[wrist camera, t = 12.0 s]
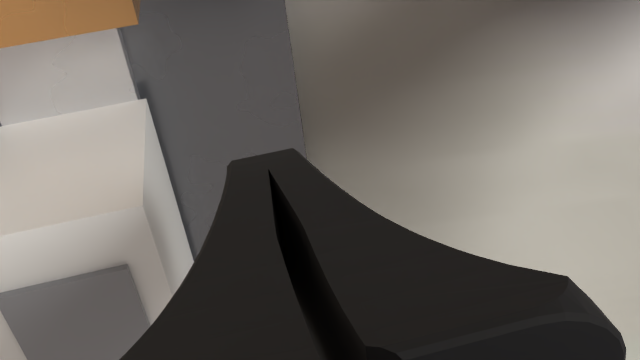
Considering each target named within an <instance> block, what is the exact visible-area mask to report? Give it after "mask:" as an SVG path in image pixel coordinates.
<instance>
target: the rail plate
mask: <svg viewBox="0 0 640 360" xmlns="http://www.w3.org/2000/svg"><path fill="white" fill-rule="evenodd" d="M145 98H146V99H147V103H148V106H149V109H150V113H151V116H152V120H153V123H154V127H155V130H156V133H157V137H158V140H159V144H160V147H161V151H162V154H163V157H164V161H165V164H166V168H167V171H168V175H169V178H170V182H171V185H172V188H173V192H174V195H175V199H176V202H177V206H178V209H179V212H180V216H181V219H182V223H183V226H184V230H185V233H186V236H187V240H188V243H189V247H190V250H191V254H192V257H193V260H194V261H195V259H196V257H197V256H198V254H199V252H200V250H201V247H202V245H203V243H204V241H205V239H206V236H207V234H208V232H209V230H210V227H211V225H212V223H213V220H214V217H215V214H216V211H217V209H218V206H219V203H220V200H221V197H222V193H223V189H224V185H225V180H226V174H227V166H228V165H229V163H230V162H231V161H232V160H237V159H242V158H247V157H252V156H256V155H261V154H266V153H271V152H276V151H280V150H285V149H290V148H294V149H295V150H297V151H298V152H299V153H300V154H301V155H303V156H304V157H305V158H306V151H305V144H304V137H303V130H302V122H301V115H300V108H299V101H298V94H297V87H296V80H295V72H294V65H293V58H292V51H291V44H290V37H289V30H288V22H287V15H286V8H285V1H284V0H0V127H1V126H6V125H11V124H16V123H21V122H26V121H32V120H37V119H42V118H47V117H52V116H57V115H63V114H68V113H73V112H78V111H83V110H89V109H94V108H99V107H104V106H109V105H114V104H120V103H125V102H130V101H135V100H140V99H145ZM306 159H307V158H306Z"/></svg>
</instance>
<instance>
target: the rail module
mask: <svg viewBox="0 0 640 360" xmlns="http://www.w3.org/2000/svg"><path fill="white" fill-rule="evenodd" d="M193 263H194V260H193V257H192V254H191V250H190V247H189V243H188V240H187V236H186V233H185V230H184V226H183V223H182V219H181V216H180V212H179V209H178V206H177V202H176V199H175V195H174V192H173V188H172V185H171V182H170V178H169V175H168V171H167V168H166V164H165V161H164V157H163V154H162V151H161V147H160V144H159V140H158V137H157V133H156V130H155V127H154V123H153V120H152V116H151V113H150V109H149V106H148V103H147V99H146V98H145V99H140V100H135V101H130V102H125V103H120V104H114V105H109V106H104V107H99V108H94V109H89V110H83V111H78V112H73V113H68V114H63V115H57V116H52V117H47V118H42V119H37V120H32V121H26V122H21V123H16V124H11V125H6V126H1V127H0V360H119V359H120V358H121V357H122V356H123V355H124V354H125V353H126V352H127V351H128V350H129V349H130V348H131V347H132V346H133V345H134V344H135V343H136V342H137V341H138V340H139V338H140V337H141V336H142V335H143V334H144V333H145V332H146V330H147V329H148V328H149V327H150V326H151V325H152V324H153V322H154V321H155V320H156V319H157V317H158V316H159V315H160V313H161V312H162V311H163V309H164V308H165V307H166V305H167V304H168V302H169V301H170V299H171V298H172V297H173V295H174V294H175V292H176V291H177V289H178V288H179V287H180V285H181V283H182V282H183V280H184V278H185V277H186V275H187V273H188V272H189V270H190V268H191V267H192V265H193Z"/></svg>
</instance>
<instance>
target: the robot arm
mask: <svg viewBox="0 0 640 360" xmlns="http://www.w3.org/2000/svg"><path fill="white" fill-rule="evenodd" d="M625 358H626V347H625V344H624V341H623V338H622V336H621V333H620V332H619V331H618V330H617V328H616V327H615V326H614V325H613V324H612V323H611V322H610V320H609V319H608V318H607V317H606V316H605V315H604V313H603V312H602V311H601V310H600V309H599V308H598V306H597V305H596V304H595V303H594V302H593V301H592V300H591V299H590V298H589V297H588V296H587V295H586V294H585V293H584V292H583V291H582V290H581V289H580V288H579V287H578V286H577V285H576V284H575V283H574V282H573V281H572V280H571V279H570V278H569V277H567V276H563V275H558V274H553V273H548V272H543V271H538V270H533V269H528V268H523V267H517V266H512V265H508V264H504V263H501V262H497V261H493V260H490V259H486V258H483V257H479V256H476V255H472V254H469V253H466V252H463V251H460V250H457V249H454V248H451V247H449V246H446V245H444V244H441V243H438V242H436V241H433V240H431V239H428V238H426V237H423V236H421V235H419V234H417V233H414V232H412V231H410V230H408V229H406V228H404V227H402V226H400V225H398V224H396V223H394V222H392V221H390V220H388V219H386V218H384V217H383V216H381V215H379V214H377V213H376V212H374V211H373V210H371V209H370V208H368V207H367V206H365V205H363V204H362V203H360V202H359V201H358V200H356V199H355V198H353V197H352V196H350V195H349V194H348V193H346V192H345V191H344V190H342V189H341V188H340V187H339V186H337V185H336V184H335V183H333V182H332V181H331V180H330V179H328V178H327V177H326V176H325V175H324V174H322V173H321V172H320V171H319V170H318V169H317V168H315V167H314V166H313V165H312V164H311V163H310V162H309V161H308V160H307V159H306V158H305V157H304V156H303V155H301V154H300V153H299V152H298V151H297V150H295V149H294V148H290V149H285V150H280V151H276V152H271V153H266V154H261V155H256V156H252V157H247V158H242V159H237V160H232V161H231V162H230V163H229V165H228V166H227V174H226V180H225V185H224V189H223V193H222V197H221V200H220V203H219V206H218V209H217V211H216V214H215V217H214V220H213V223H212V225H211V227H210V230H209V232H208V234H207V236H206V239H205V241H204V243H203V245H202V247H201V250H200V252H199V254H198V256H197V257H196V259H195V261H194V263H193V265H192V267H191V268H190V270H189V272H188V273H187V275H186V277H185V278H184V280H183V282H182V283H181V285H180V287H179V288H178V289H177V291H176V292H175V294H174V295H173V297H172V298H171V299H170V301H169V302H168V304H167V305H166V307H165V308H164V309H163V311H162V312H161V313H160V315H159V316H158V317H157V319H156V320H155V321H154V322H153V324H152V325H151V326H150V327H149V328H148V329H147V330H146V332H145V333H144V334H143V335H142V336H141V337H140V338H139V340H138V341H137V342H136V343H135V344H134V345H133V346H132V347H131V348H130V349H129V350H128V351H127V352H126V353H125V354H124V355H123V356H122V357H121V358H120V359H119V360H625Z"/></svg>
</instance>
